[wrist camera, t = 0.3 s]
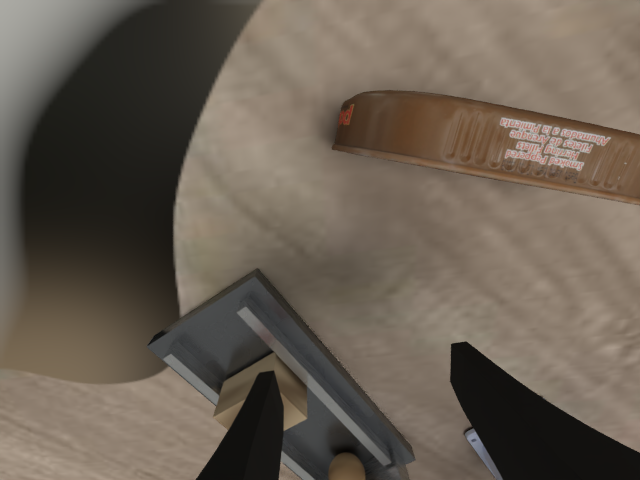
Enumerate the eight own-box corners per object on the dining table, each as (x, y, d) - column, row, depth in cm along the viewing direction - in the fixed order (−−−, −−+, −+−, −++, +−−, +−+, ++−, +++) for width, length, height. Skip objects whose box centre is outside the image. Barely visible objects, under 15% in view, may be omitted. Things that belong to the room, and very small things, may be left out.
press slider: (307, 383, 24) (308, 527, 15) (256, 411, 24) (231, 561, 16) (276, 350, 22) (259, 489, 14) (223, 381, 23) (178, 529, 15)
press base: (411, 446, 29) (432, 511, 25) (326, 487, 31) (330, 554, 26) (257, 268, 21) (243, 311, 17) (153, 335, 23) (114, 393, 18)
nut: (368, 457, 28) (375, 498, 25) (339, 471, 28) (343, 512, 25) (350, 439, 27) (355, 478, 24) (320, 453, 27) (322, 494, 24)
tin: (325, 148, 19) (340, 169, 11) (334, 92, 17) (360, 70, 10) (543, 188, 20) (694, 231, 12) (565, 139, 19) (745, 153, 11)
